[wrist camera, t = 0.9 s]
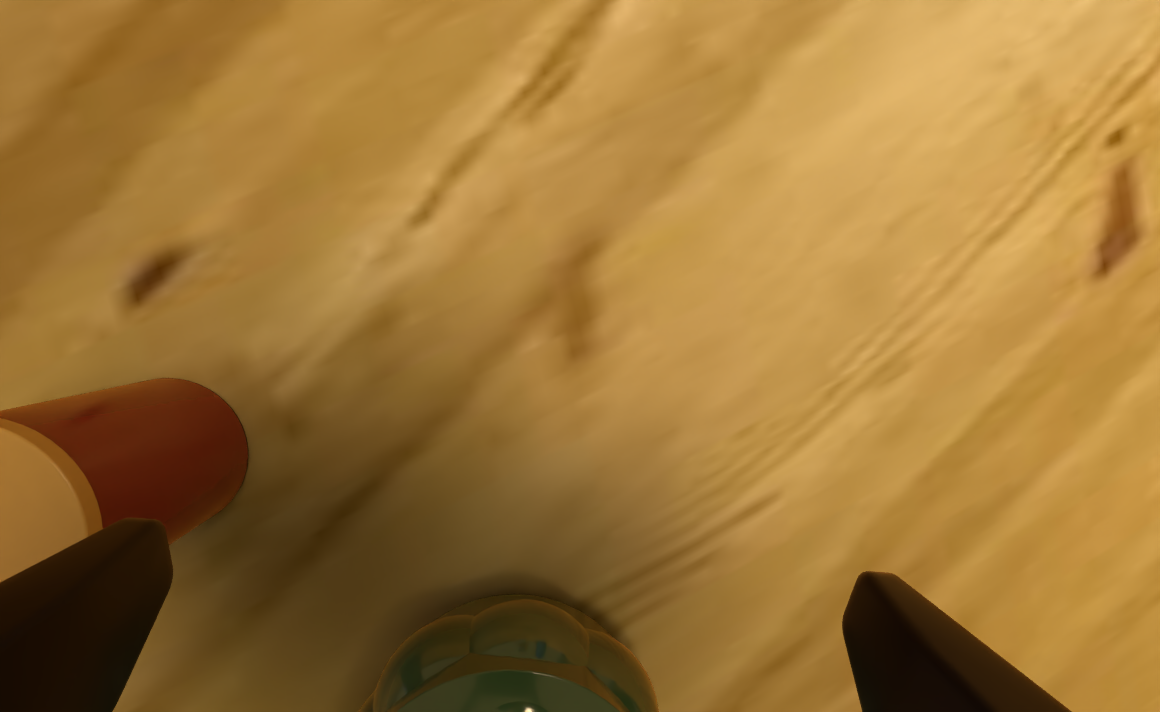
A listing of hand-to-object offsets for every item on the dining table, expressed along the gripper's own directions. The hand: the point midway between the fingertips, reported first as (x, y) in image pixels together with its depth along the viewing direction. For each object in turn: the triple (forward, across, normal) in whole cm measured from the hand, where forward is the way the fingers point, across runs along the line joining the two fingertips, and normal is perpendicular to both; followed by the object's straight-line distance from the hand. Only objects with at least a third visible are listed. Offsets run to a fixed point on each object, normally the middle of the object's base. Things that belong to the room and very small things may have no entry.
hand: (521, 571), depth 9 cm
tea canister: (+14, +13, +9) cm, 21 cm away
